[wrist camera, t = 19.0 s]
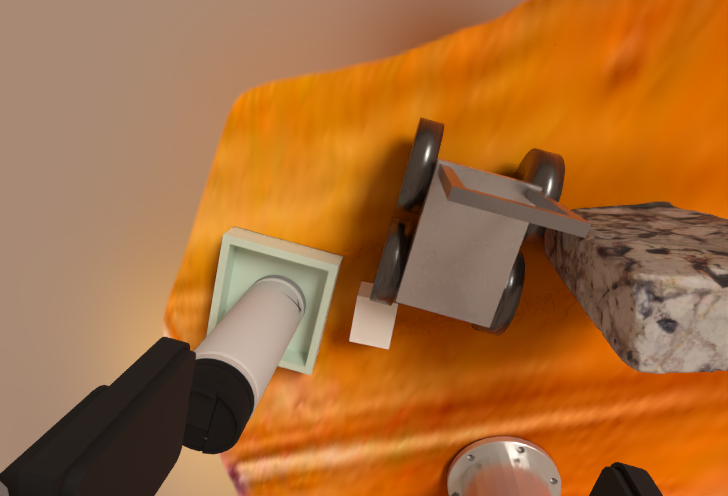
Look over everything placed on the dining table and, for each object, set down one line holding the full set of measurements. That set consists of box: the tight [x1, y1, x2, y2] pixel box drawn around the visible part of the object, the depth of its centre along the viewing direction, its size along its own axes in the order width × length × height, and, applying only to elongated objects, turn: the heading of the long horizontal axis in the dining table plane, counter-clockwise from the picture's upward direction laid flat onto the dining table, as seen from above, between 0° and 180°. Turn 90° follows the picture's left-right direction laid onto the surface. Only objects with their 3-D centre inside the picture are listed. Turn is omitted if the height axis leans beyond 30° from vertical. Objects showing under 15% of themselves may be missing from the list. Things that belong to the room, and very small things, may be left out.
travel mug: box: [182, 275, 306, 454], centre depth 40 cm, size 6×7×20 cm
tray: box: [206, 227, 343, 375], centre depth 48 cm, size 13×12×3 cm
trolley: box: [370, 118, 591, 336], centre depth 36 cm, size 17×12×20 cm
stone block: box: [544, 202, 728, 374], centre depth 35 cm, size 13×7×20 cm, turn 100°
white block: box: [349, 281, 398, 349], centre depth 47 cm, size 5×4×4 cm
